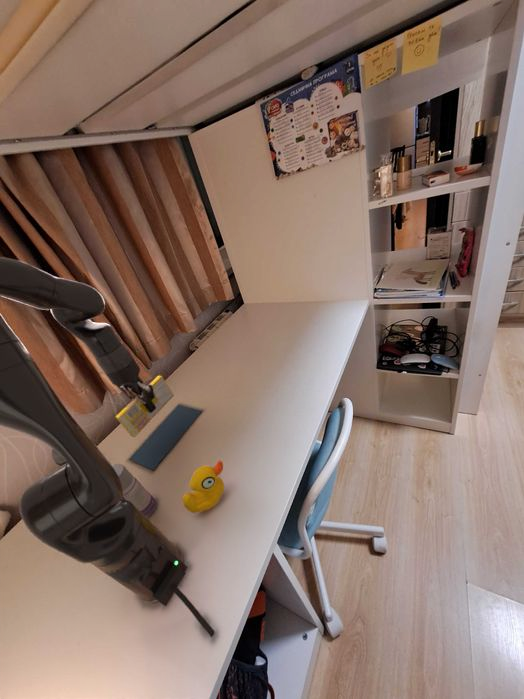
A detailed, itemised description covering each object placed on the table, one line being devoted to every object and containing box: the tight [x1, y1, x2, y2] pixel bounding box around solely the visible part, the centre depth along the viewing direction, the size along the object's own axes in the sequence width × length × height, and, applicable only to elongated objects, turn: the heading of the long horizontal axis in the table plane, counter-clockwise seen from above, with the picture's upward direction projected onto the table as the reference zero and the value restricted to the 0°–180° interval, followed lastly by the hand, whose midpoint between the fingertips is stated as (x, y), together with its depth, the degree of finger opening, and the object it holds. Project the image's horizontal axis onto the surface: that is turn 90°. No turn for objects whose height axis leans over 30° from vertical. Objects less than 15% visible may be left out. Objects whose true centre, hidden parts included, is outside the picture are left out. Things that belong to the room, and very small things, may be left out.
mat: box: [128, 404, 203, 472], centre depth 88 cm, size 11×22×1 cm, turn 150°
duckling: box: [182, 460, 225, 514], centre depth 64 cm, size 11×5×10 cm, turn 124°
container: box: [112, 462, 157, 518], centre depth 66 cm, size 5×5×15 cm
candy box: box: [114, 374, 174, 438], centre depth 81 cm, size 16×2×8 cm, turn 150°
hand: (149, 409), depth 82 cm, fingers closed on candy box, 2 cm apart
